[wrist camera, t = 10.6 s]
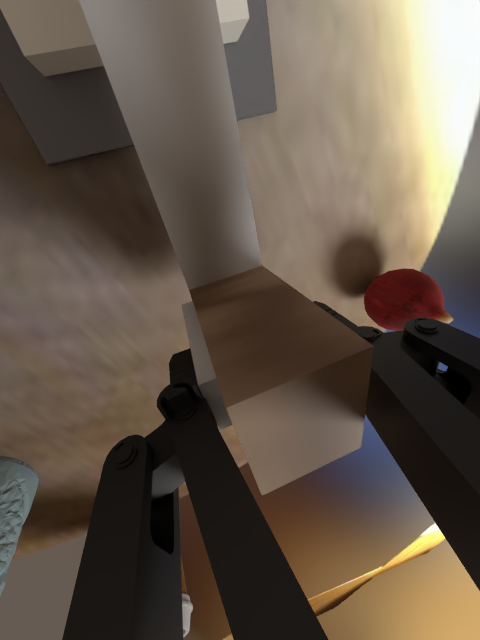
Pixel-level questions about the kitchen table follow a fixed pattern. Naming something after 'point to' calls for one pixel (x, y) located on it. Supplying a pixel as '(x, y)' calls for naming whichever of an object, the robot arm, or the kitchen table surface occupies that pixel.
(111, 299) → the kitchen table surface
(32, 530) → the kitchen table surface
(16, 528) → the grey-green hollow open cylinder
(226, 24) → the tile
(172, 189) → the tan l-shaped piece
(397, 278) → the onion
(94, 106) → the mat
